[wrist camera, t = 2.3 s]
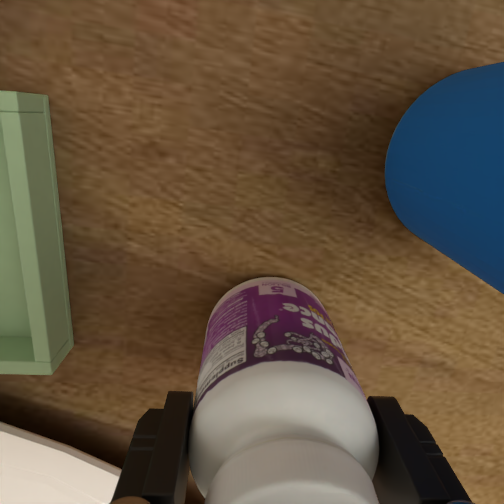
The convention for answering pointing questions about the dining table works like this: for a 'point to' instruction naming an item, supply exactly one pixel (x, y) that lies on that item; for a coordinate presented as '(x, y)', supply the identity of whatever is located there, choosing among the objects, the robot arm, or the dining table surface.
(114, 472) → the plate
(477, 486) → the dining table surface
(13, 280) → the green tray
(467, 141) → the beverage can
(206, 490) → the pill bottle
